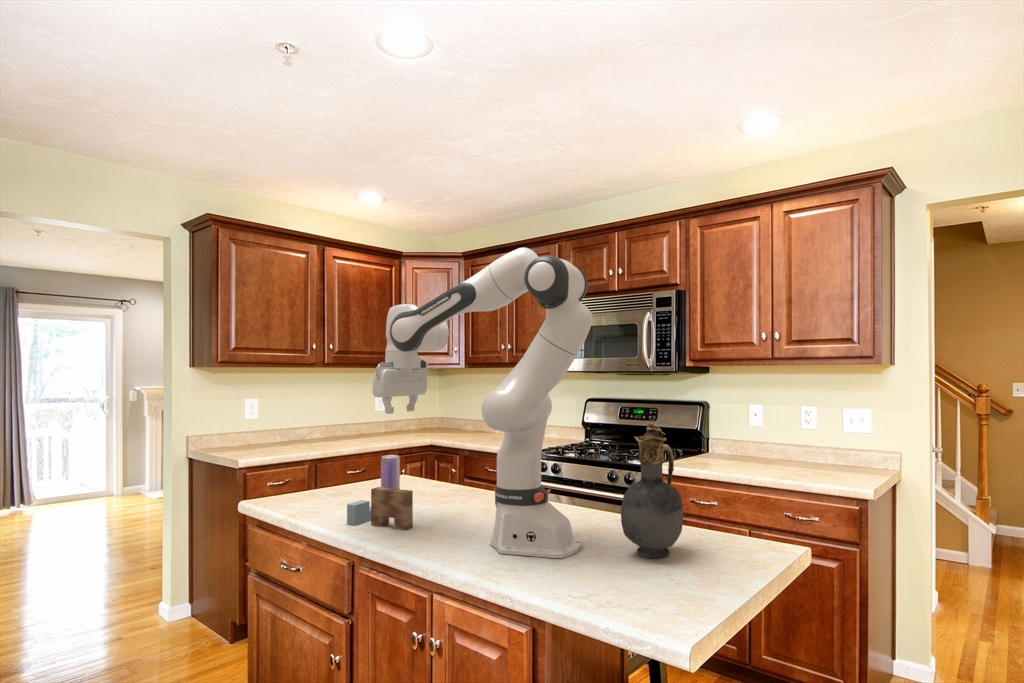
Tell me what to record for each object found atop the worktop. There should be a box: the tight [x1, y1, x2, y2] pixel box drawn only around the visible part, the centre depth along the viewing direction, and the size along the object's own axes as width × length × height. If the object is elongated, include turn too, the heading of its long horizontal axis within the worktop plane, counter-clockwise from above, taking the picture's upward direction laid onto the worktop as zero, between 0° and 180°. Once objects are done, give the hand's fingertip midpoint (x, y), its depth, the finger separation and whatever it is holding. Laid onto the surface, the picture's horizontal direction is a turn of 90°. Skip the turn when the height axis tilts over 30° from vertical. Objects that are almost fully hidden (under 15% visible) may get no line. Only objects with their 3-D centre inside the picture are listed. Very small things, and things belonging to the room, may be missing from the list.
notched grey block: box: [346, 499, 371, 526], centre depth 174 cm, size 3×16×6 cm, turn 153°
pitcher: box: [620, 423, 684, 560], centre depth 141 cm, size 11×19×30 cm, turn 141°
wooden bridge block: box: [370, 486, 414, 531], centre depth 165 cm, size 12×3×10 cm, turn 63°
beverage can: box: [380, 454, 401, 489], centre depth 194 cm, size 6×6×15 cm
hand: (400, 412), depth 165 cm, fingers open, 8 cm apart
